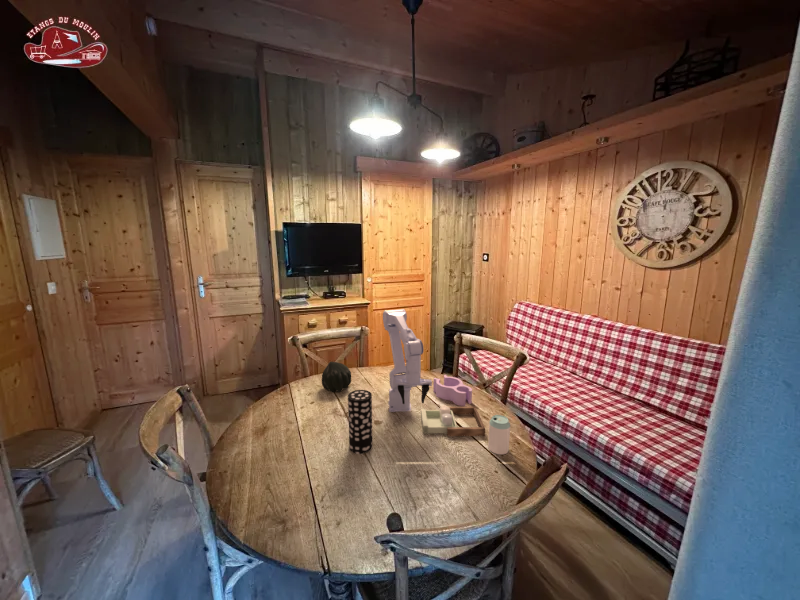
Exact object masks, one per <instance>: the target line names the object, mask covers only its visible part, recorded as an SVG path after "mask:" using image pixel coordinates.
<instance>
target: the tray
mask: <svg viewBox="0 0 800 600" xmlns="http://www.w3.org/2000/svg"><path fill="white" fill-rule="evenodd" d="M450 414H451V415H452V416H453V417H452V426H441V421H440V409H426V408H421V409H420V419H421V425H422V434H447V427H458V426H457V425H458V424H457V422H456V417H455V414H453V412H452V410H450Z"/></svg>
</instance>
